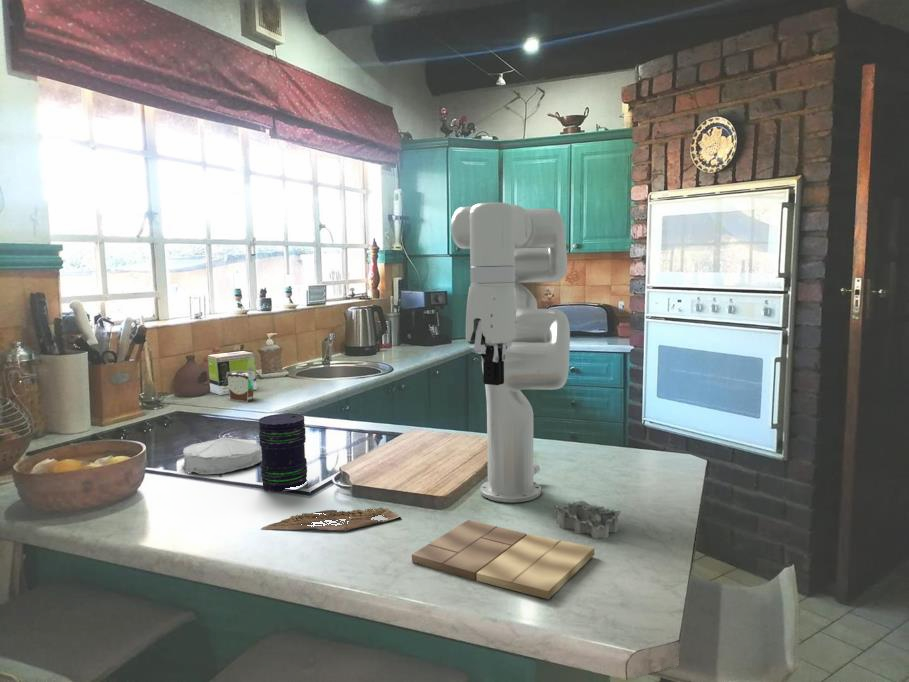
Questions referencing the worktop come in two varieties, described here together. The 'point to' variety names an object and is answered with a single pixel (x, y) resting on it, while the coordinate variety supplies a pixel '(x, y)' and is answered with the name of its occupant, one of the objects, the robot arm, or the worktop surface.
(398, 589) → the worktop surface
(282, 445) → the storage jar
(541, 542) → the plank
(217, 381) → the tea box
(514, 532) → the laid board
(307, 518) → the wooden fragment
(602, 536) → the egg carton
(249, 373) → the food container
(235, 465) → the food container
